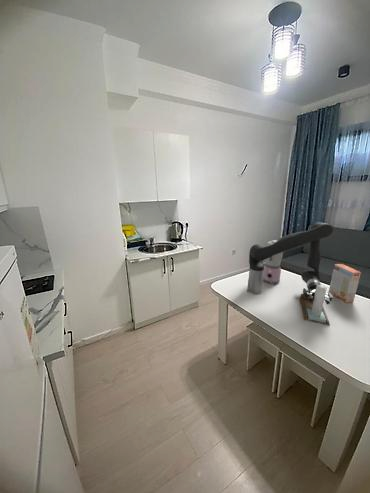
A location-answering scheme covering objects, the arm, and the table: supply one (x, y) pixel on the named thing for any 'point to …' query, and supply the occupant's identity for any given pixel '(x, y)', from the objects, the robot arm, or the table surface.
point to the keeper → (318, 305)
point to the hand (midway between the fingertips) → (319, 301)
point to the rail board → (308, 305)
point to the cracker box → (344, 282)
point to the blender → (272, 267)
